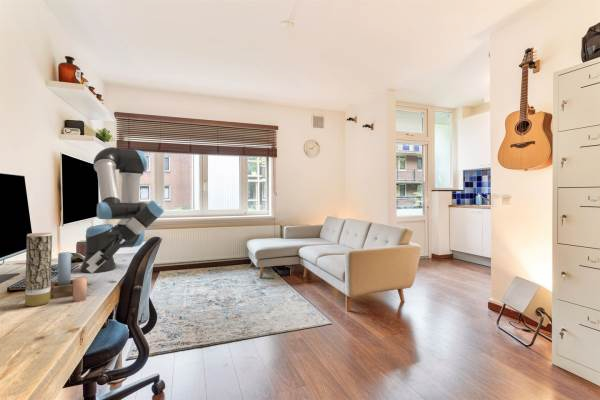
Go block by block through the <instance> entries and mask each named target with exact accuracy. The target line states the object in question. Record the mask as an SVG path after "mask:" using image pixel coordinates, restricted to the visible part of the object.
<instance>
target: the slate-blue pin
mask: <svg viewBox="0 0 600 400" xmlns="http://www.w3.org/2000/svg"><path fill="white" fill-rule="evenodd" d="M57 253H58V252H57ZM71 267H72V252H70V251H68V252H67V251H63V252H59V253H58V254H57V269H58V274H57V279H56V281H57V286H61V285H70V280H71V272H72V271H71V269H72V268H71Z"/></svg>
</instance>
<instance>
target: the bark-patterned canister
mask: <svg viewBox="0 0 600 400" xmlns="http://www.w3.org/2000/svg"><path fill="white" fill-rule="evenodd" d="M52 251H53V234H52V232H32V233H27V235H26V250H25V252H26V254H25V256H26V257H25V258H26V259H25V287H24V288H25V290H24V291H25V292H24V293H25V296H24V305H26V306H27V307H38V306H43V305H46V304H48V303H49V302H51V299H50V291H51V282H52V276H51V275H52V273H51V271H52V270H51V266H52V258H53V255H52Z"/></svg>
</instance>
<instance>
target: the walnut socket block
mask: <svg viewBox="0 0 600 400" xmlns="http://www.w3.org/2000/svg"><path fill="white" fill-rule="evenodd" d="M73 279H74V278H73ZM73 279H70V285H61V286H57V280H55V281H51V291H50V300H51V299H59V298H66V297H73Z"/></svg>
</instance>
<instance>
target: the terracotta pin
mask: <svg viewBox="0 0 600 400" xmlns="http://www.w3.org/2000/svg"><path fill="white" fill-rule="evenodd" d="M87 280H88V278H87V277H76V278H73V296H72V302H74V303H80V301H81V302H84V301H86V300H87V287H88V286H87V282H88V281H87Z"/></svg>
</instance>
